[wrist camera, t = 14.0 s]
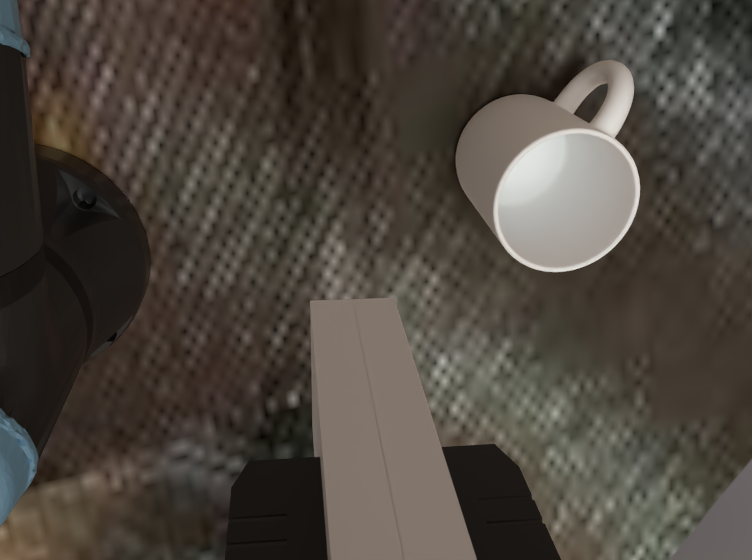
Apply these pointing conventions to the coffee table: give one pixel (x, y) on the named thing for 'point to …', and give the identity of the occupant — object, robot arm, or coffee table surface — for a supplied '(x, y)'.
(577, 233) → the mug
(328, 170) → the coffee table surface
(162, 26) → the coffee table surface
